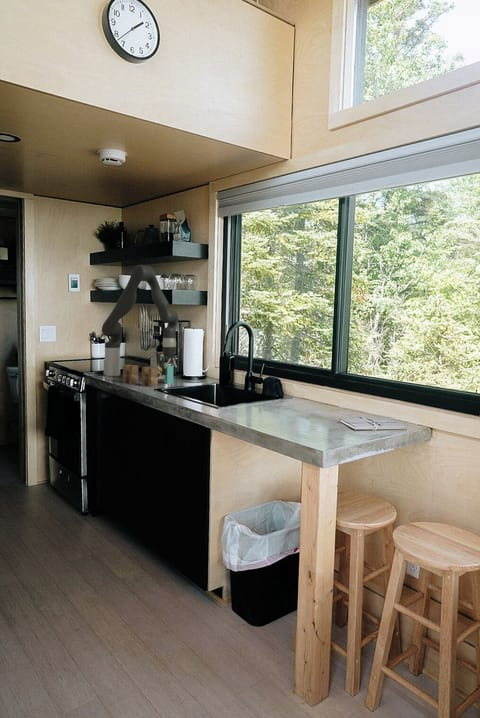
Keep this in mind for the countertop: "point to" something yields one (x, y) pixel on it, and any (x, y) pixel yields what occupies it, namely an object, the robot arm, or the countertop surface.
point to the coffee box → (157, 363)
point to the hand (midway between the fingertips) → (169, 374)
